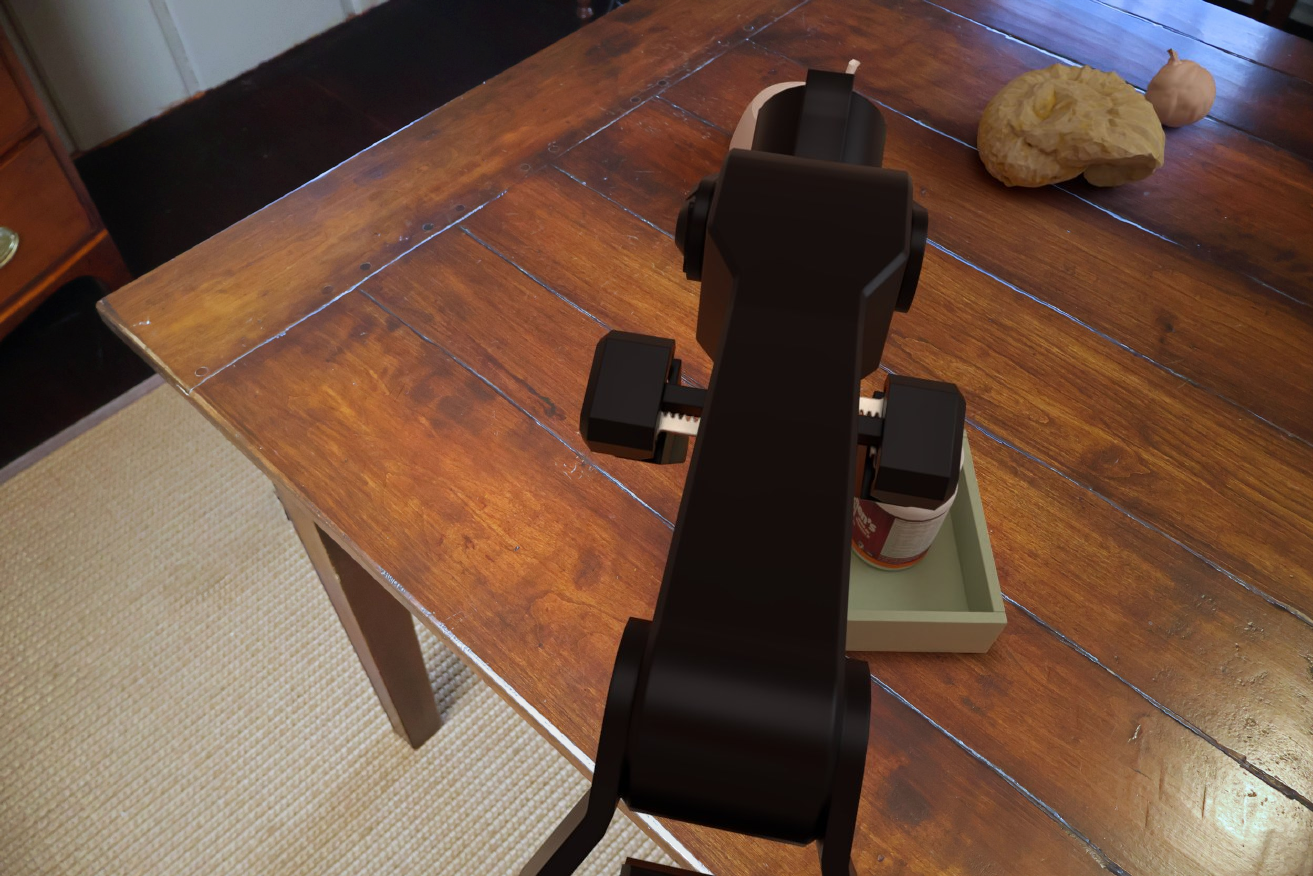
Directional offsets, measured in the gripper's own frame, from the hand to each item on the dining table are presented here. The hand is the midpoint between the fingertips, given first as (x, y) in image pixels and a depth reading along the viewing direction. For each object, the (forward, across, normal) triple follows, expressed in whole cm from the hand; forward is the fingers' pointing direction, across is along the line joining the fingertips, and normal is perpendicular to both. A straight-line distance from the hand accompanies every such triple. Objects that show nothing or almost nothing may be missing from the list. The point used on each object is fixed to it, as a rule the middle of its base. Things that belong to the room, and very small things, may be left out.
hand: (760, 466), depth 57 cm
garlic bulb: (+33, -36, -55) cm, 74 cm away
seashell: (+29, -24, -44) cm, 58 cm away
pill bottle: (+16, -10, -1) cm, 19 cm away
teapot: (+28, +1, -39) cm, 48 cm away
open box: (+16, -9, 0) cm, 18 cm away
